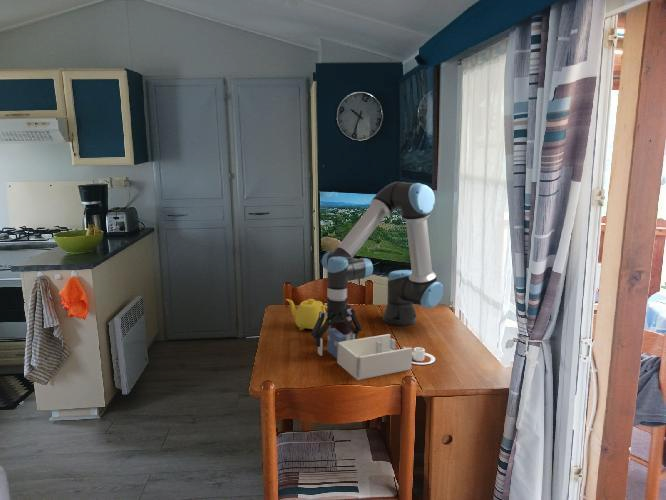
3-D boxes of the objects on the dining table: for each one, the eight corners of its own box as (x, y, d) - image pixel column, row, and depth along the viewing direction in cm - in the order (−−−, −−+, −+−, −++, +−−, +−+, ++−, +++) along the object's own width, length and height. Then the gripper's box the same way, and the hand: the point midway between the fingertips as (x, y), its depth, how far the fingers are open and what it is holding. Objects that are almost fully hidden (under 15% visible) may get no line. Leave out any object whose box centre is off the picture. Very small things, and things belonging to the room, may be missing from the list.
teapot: (325, 334, 231) (325, 305, 228) (280, 329, 236) (280, 301, 233) (334, 324, 244) (334, 296, 241) (291, 319, 249) (291, 292, 246)
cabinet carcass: (388, 353, 212) (389, 333, 210) (411, 369, 197) (412, 348, 196) (337, 362, 202) (337, 342, 201) (357, 380, 188) (357, 358, 187)
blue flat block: (334, 349, 215) (334, 327, 213) (345, 359, 206) (346, 336, 204) (326, 351, 213) (326, 329, 212) (337, 360, 205) (338, 337, 203)
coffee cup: (351, 346, 218) (351, 310, 215) (326, 344, 220) (327, 308, 217) (355, 337, 228) (355, 303, 225) (331, 336, 229) (332, 301, 226)
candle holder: (420, 351, 215) (421, 341, 214) (441, 362, 205) (442, 351, 204) (396, 357, 209) (397, 346, 208) (417, 368, 199) (417, 357, 198)
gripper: (361, 292, 214) (360, 343, 218) (302, 299, 203) (302, 353, 208) (371, 297, 207) (369, 350, 211) (310, 304, 197) (310, 360, 201)
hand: (336, 351), depth 210 cm, fingers open, 13 cm apart
